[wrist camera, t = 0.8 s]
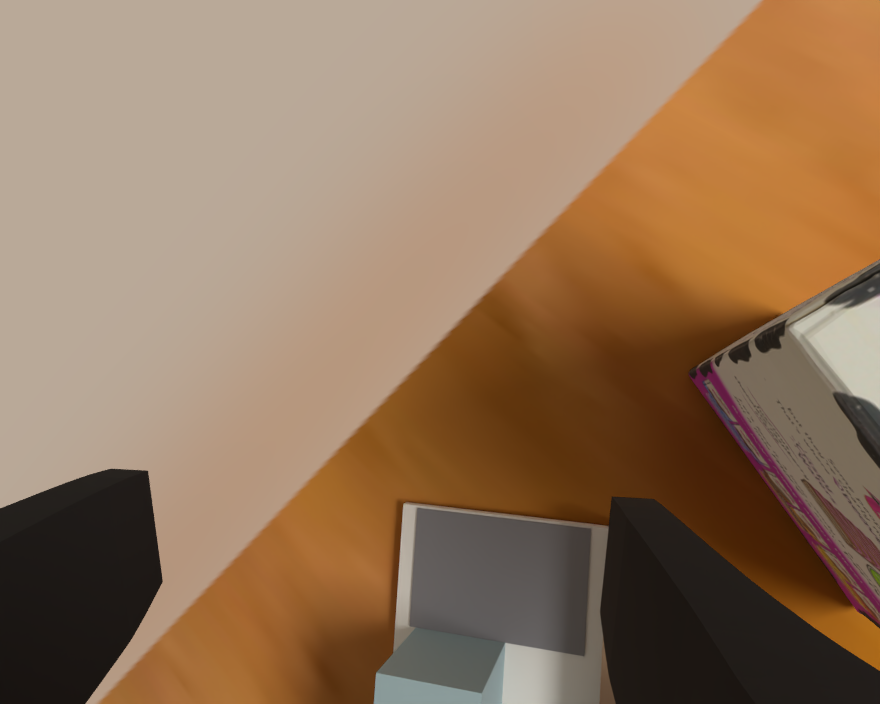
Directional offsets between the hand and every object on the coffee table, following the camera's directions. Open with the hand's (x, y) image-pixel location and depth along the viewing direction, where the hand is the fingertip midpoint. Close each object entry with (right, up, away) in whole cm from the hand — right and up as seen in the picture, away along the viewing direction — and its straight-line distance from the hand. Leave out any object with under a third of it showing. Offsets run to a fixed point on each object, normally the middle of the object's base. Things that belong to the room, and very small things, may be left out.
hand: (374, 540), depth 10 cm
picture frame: (+4, -11, +18) cm, 21 cm away
